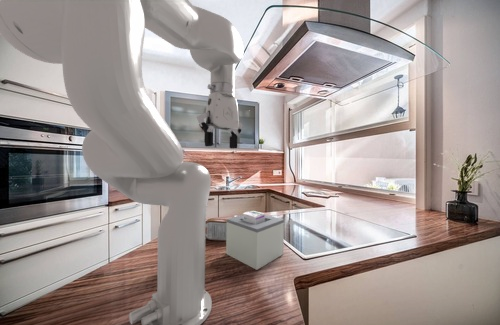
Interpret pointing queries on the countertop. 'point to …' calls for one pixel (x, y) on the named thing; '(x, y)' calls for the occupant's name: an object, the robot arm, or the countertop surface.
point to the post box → (255, 240)
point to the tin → (216, 229)
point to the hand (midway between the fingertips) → (221, 147)
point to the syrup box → (254, 217)
